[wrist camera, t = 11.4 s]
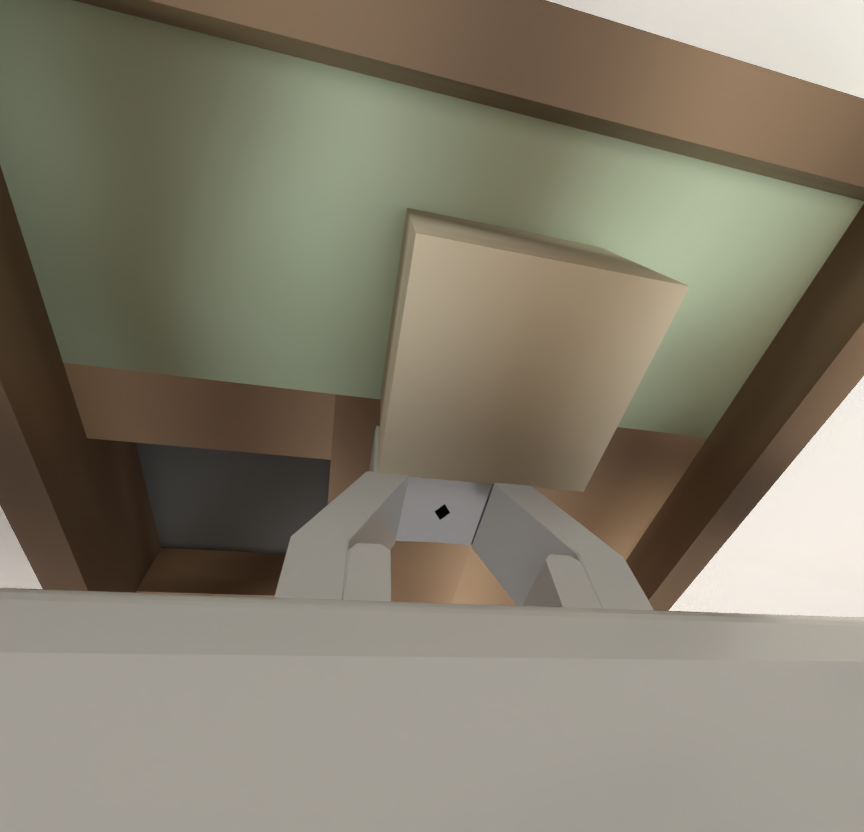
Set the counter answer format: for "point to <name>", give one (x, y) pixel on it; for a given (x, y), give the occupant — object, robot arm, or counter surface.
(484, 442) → the birch block
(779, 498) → the counter surface
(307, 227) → the trap lane
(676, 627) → the robot arm
